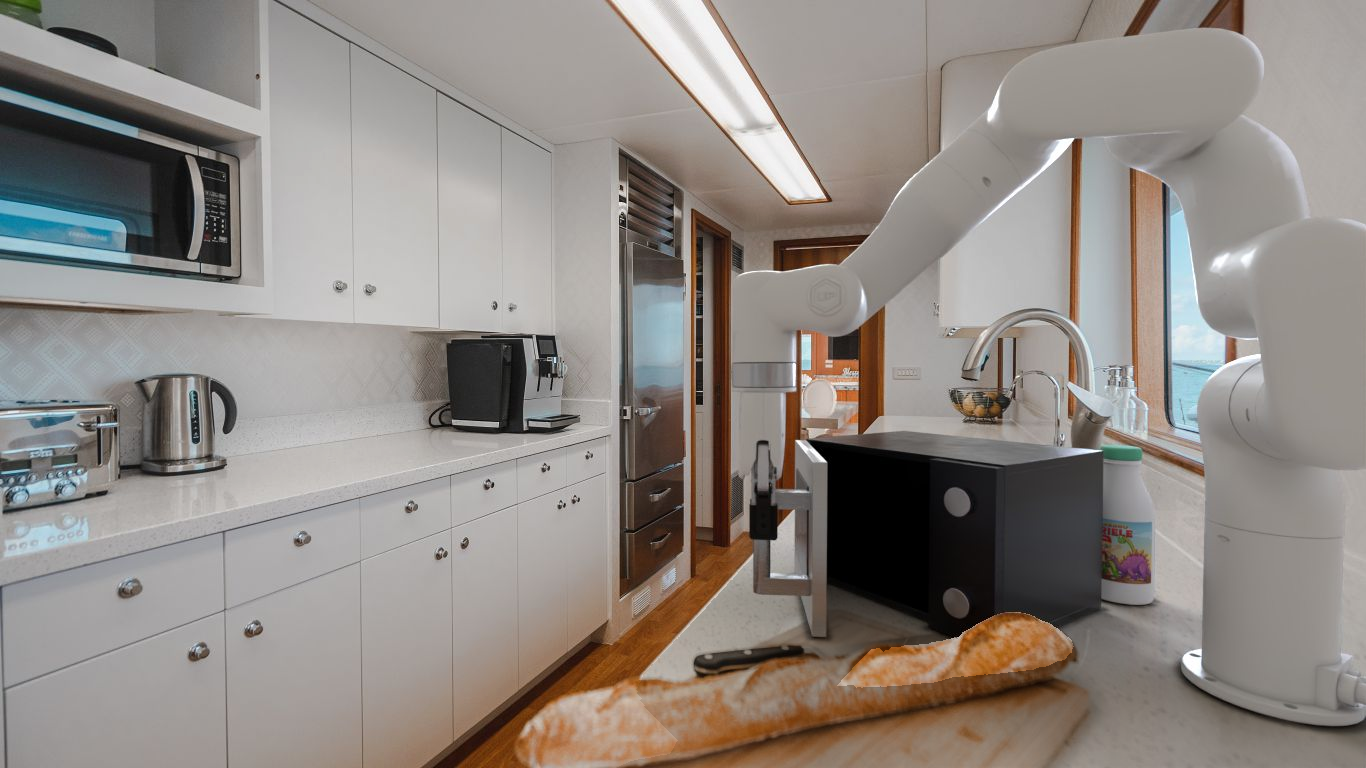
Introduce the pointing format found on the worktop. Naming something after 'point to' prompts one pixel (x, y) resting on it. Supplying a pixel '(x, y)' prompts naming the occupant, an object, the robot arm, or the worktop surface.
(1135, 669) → the worktop surface
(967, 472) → the microwave
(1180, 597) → the worktop surface
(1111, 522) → the milk bottle
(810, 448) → the microwave door
